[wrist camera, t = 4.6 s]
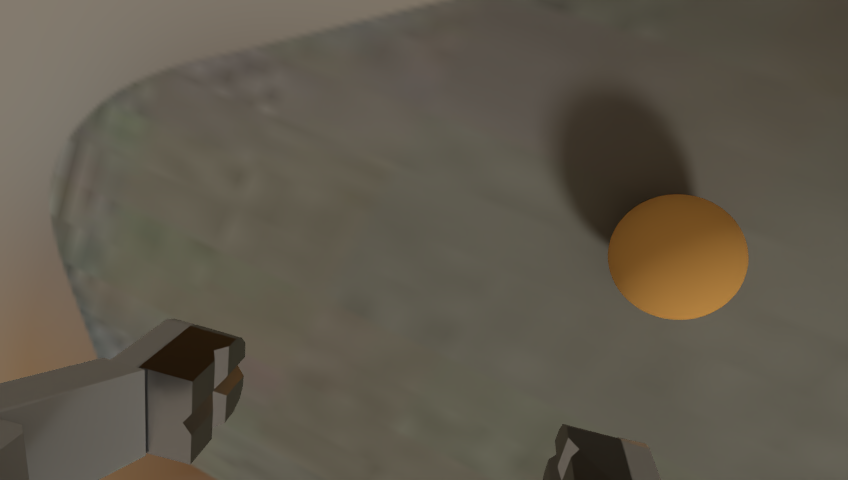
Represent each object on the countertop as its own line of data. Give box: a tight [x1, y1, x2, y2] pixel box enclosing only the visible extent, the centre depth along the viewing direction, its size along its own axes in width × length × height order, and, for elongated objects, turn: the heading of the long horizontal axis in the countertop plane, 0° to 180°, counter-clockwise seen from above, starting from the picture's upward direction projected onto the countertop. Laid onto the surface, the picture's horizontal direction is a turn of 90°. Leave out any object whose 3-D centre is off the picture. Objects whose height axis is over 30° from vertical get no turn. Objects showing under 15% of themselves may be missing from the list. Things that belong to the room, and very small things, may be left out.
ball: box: [608, 194, 748, 320], centre depth 22 cm, size 6×6×6 cm
